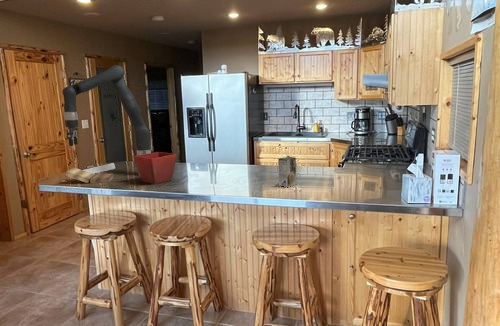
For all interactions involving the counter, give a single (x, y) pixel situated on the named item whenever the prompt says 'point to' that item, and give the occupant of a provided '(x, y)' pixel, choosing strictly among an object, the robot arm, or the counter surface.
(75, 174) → the oak plank
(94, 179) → the wooden block
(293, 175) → the coffee box
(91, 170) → the decorative molding
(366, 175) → the counter surface
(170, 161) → the plant pot
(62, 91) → the robot arm
